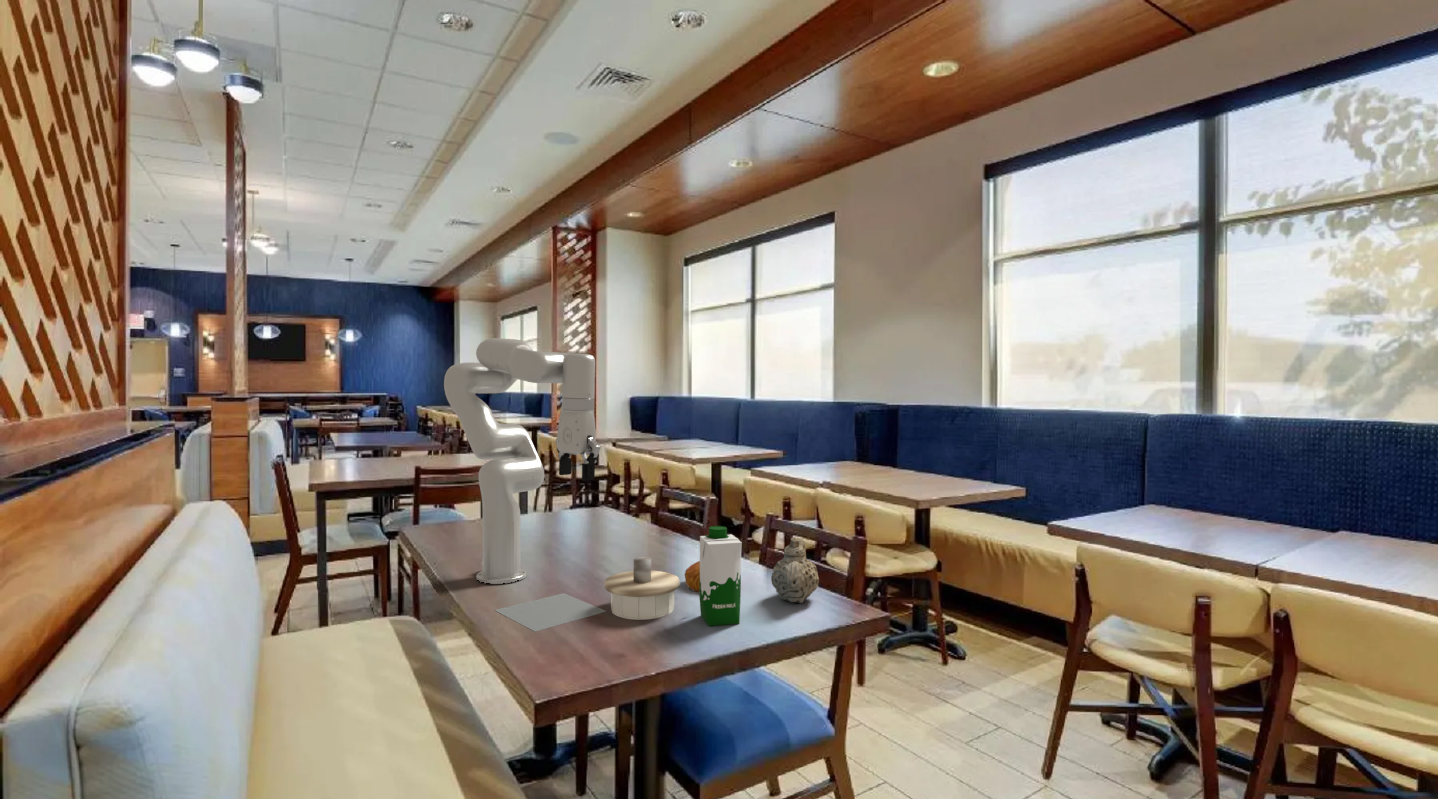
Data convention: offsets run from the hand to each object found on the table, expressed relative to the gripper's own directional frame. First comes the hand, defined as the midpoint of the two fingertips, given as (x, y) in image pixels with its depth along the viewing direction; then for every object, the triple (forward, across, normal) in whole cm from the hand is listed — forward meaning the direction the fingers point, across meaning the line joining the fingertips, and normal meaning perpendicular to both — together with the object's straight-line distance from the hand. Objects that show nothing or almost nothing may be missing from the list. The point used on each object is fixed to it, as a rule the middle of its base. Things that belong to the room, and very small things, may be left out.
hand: (576, 477), depth 162 cm
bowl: (+29, +18, +7) cm, 35 cm away
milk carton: (+29, +34, +16) cm, 47 cm away
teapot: (+28, +36, +39) cm, 61 cm away
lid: (+23, +18, +6) cm, 30 cm away
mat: (+29, +5, -9) cm, 31 cm away
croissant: (+29, +15, +32) cm, 46 cm away
